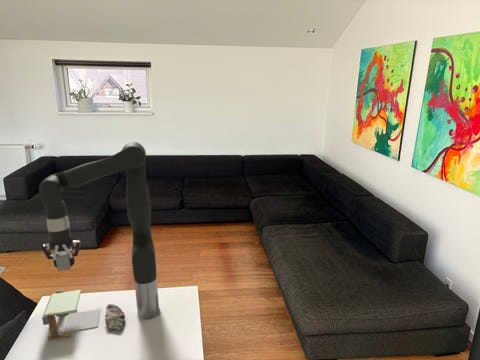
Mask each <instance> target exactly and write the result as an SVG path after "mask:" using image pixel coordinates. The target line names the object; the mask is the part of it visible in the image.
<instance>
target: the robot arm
mask: <svg viewBox="0 0 480 360" xmlns="http://www.w3.org/2000/svg"><path fill="white" fill-rule="evenodd" d="M146 158H147V152H146V149H145V147H144V146H143V145H142V144H141V143H139V142H137V141H130V142H127V143H126V144H125V145H124V146H123V147H122V149H121V150H120V151H119V152H116V153H115V154H113V155H110V156H109V157H105V158H102V159H99V160H96V161H91V162H87V163H83V164H81V165H78V166H75V167H73V168H70V169H68V170H64V171H60V172H56V173H54V174H50V175H49V176H47V177H46V178H44V179H43V180H42V181H41V182H40V184H39V189H38V191H39V192H38V193H39V196H40V198H41V201H42V204H43V206H44V211H45V216H46V227H47V233H48V239H49V242H47V243H43V244H42V246H41V250H42V251H43V253H44V255H45V257H46V258H47V259H48V260H53V266H54V268H56V269H57V263H56V256H57V254H58V252H62V251H66V253H67V254H68V255H69V257H70V258H69V259H70V266H71V267H73V266H74V265H75V257H77V256H78V255H79V252H80V251H79V250H80V246H81V240H80V239H78V240H76V239H75V240H74V239H73V237H72V233H71V224H70V220H69V217H68V212H67V211H68V210H67V206H66V202H65V201H64V200H63V198H62V191H64V190H67V189H70V188H78V187H80V186H83V185H87V184H89V183H90V182H94V181H96V180H98V179H101V178H104V177H106V176H110V175H113V174H116V173H121V172H125V173H126V175H125V176H126V187H125V190H126V191H125V204H126V212H127V217H128V222H129V224H130V227H131V231H132V250H131V264H132V273H133V280H134V290H135V292H134V293H135V300H136V302H135V303H136V311H137V316H138V317H139V318H140V319H143V320H151V319H153V318H155V317H156V316H160V304H159V303H160V301H159V290H158V278H157V263H156V261H157V259H156V251H155V250H156V249H155V244H154V242H153V238H152V233H151V231H152V230H151V223H152V207H151V199H150V192H149V186H148V181H147V176H146ZM72 245H73V246H74V247H75V250H74V251H73V248H72ZM50 248H51V249H52V250H53V254H52V252H51V250H50Z"/></svg>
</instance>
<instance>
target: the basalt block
mask: <svg viewBox="0 0 480 360" xmlns="http://www.w3.org/2000/svg"><path fill="white" fill-rule="evenodd" d="M69 258H70V257H69V255H68V254H67V253H66V251H61V252H58V254H57V256H56V263H57V268H56V269H57V272H60V271H70V270H71V269H72V266H70V259H69Z"/></svg>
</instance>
